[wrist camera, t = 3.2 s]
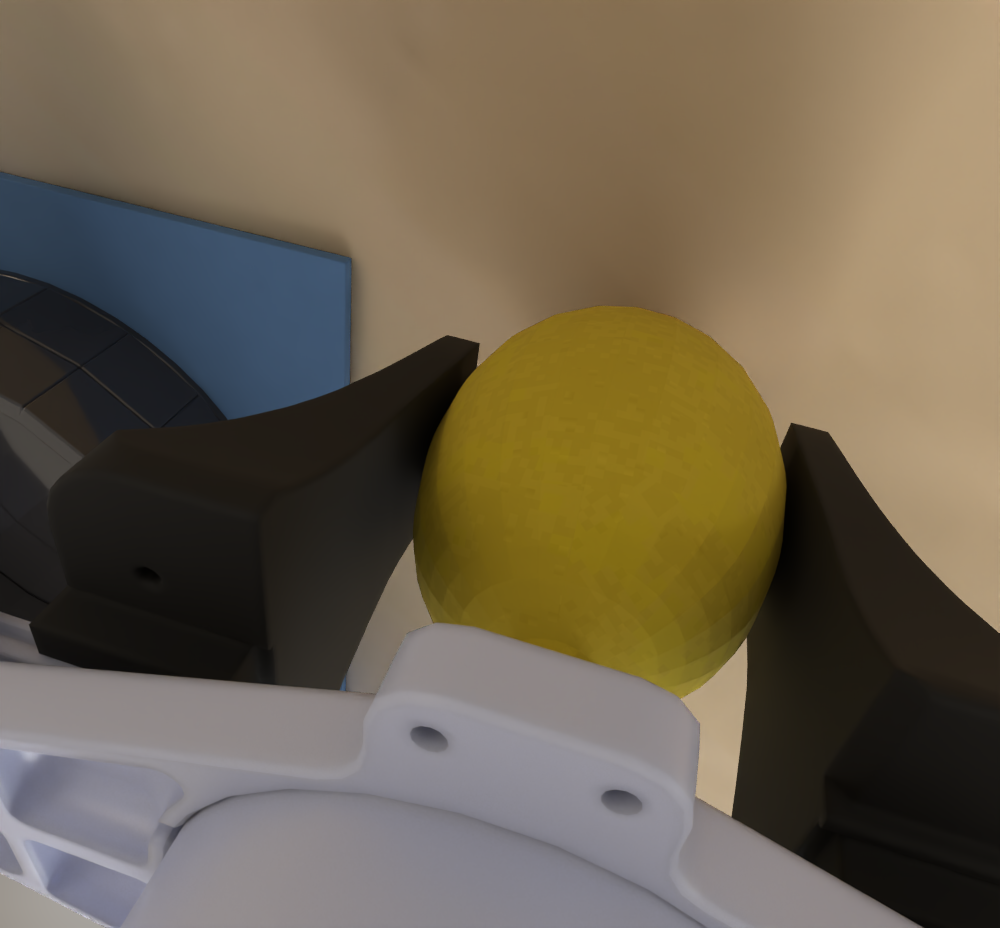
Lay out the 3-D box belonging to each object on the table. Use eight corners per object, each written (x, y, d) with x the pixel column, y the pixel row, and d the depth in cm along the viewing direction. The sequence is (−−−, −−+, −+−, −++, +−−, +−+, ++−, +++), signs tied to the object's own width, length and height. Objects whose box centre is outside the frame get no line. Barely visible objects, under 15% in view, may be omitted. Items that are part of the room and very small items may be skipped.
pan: (295, 684, 25) (232, 791, 22) (-49, 572, 27) (-150, 658, 24) (278, 334, 17) (177, 426, 15) (-204, 207, 19) (-381, 267, 16)
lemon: (447, 315, 16) (242, 592, 10) (704, 178, 13) (643, 444, 7) (583, 517, 18) (484, 851, 12) (830, 435, 15) (869, 816, 9)
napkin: (345, 740, 26) (341, 748, 26) (-72, 601, 29) (-79, 607, 28) (351, 257, 16) (345, 262, 16) (-307, 95, 18) (-321, 99, 18)
